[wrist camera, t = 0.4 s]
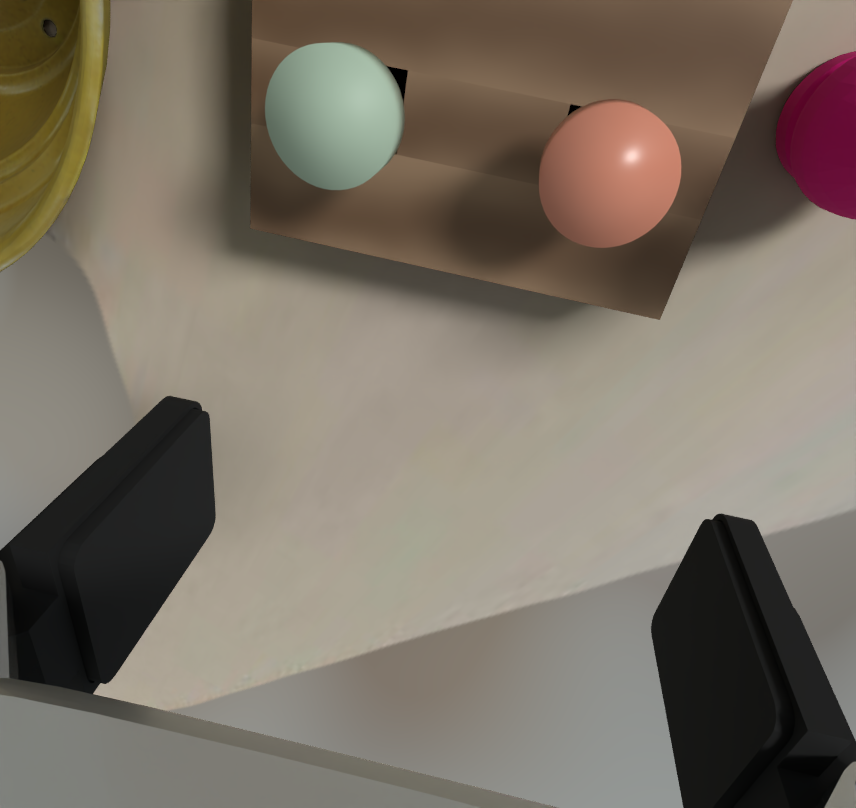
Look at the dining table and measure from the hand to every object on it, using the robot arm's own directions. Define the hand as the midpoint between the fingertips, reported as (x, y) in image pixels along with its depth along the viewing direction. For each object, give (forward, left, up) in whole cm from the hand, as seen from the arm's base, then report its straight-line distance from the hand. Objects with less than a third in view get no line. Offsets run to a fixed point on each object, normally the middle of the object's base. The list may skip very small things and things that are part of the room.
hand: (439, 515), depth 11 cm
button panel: (-4, -2, -28) cm, 28 cm away
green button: (-4, -7, -24) cm, 25 cm away
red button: (-4, +4, -24) cm, 24 cm away
